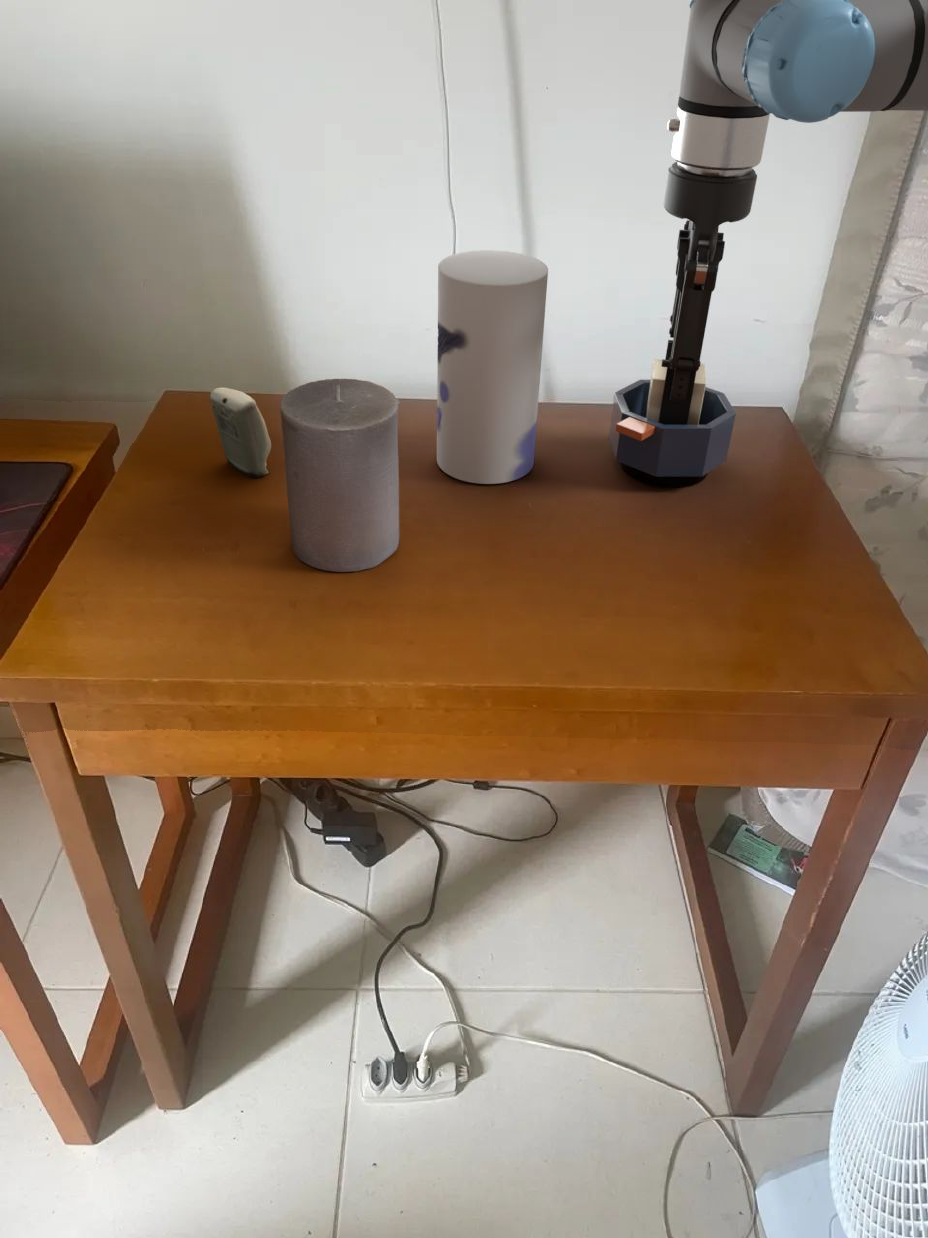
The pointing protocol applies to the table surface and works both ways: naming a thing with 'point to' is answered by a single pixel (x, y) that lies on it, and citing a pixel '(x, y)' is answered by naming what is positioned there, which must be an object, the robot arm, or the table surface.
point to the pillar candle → (342, 473)
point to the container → (489, 363)
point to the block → (658, 387)
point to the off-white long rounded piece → (241, 431)
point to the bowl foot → (661, 478)
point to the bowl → (670, 435)
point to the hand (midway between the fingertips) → (671, 415)
